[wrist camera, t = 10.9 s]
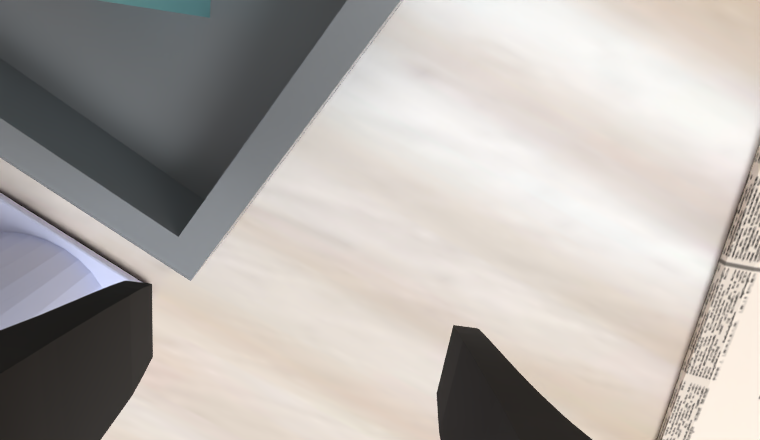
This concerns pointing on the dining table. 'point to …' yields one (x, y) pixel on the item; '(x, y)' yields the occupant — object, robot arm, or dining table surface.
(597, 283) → the dining table surface
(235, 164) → the bin
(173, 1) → the strut
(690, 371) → the newspaper
